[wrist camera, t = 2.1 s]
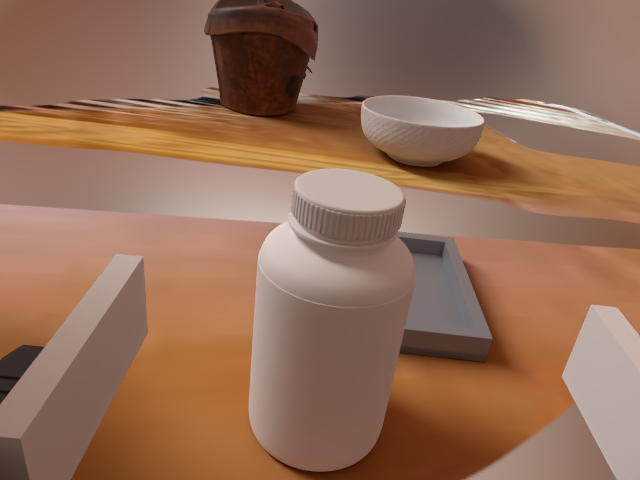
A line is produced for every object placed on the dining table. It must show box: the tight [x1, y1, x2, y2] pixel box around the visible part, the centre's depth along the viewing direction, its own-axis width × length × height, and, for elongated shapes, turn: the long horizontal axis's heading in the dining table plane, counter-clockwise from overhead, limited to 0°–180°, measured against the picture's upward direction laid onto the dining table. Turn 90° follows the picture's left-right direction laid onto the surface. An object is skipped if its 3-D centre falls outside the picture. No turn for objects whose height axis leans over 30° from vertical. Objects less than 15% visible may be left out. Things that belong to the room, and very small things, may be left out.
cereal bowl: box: [361, 95, 485, 167], centre depth 75 cm, size 17×17×7 cm
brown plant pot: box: [204, 0, 318, 116], centre depth 87 cm, size 18×20×18 cm
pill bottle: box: [249, 169, 416, 472], centre depth 28 cm, size 8×8×15 cm
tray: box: [397, 232, 493, 362], centre depth 44 cm, size 15×15×2 cm
